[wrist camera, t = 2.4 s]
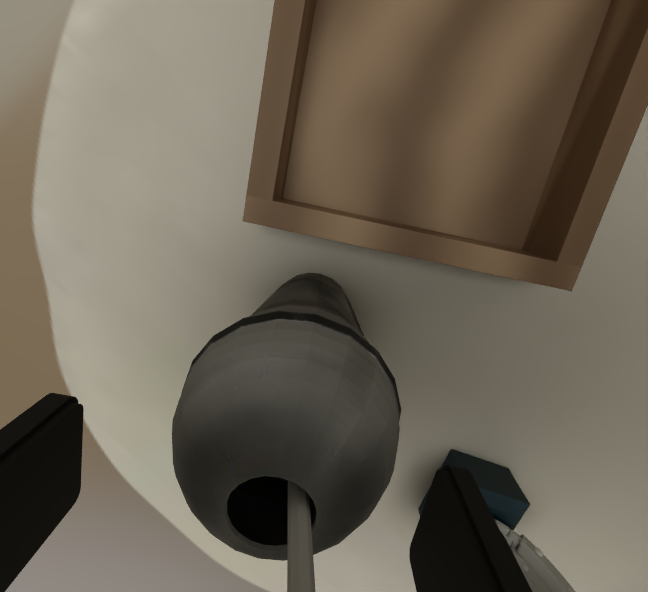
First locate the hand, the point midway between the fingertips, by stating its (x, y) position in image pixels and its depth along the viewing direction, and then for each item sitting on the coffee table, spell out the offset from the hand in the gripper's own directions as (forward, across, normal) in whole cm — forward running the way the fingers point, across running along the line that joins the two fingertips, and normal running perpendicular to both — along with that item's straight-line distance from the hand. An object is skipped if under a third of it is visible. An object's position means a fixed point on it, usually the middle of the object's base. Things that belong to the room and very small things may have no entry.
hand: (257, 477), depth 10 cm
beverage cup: (+14, -1, 0) cm, 15 cm away
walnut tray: (+14, -5, -13) cm, 20 cm away
